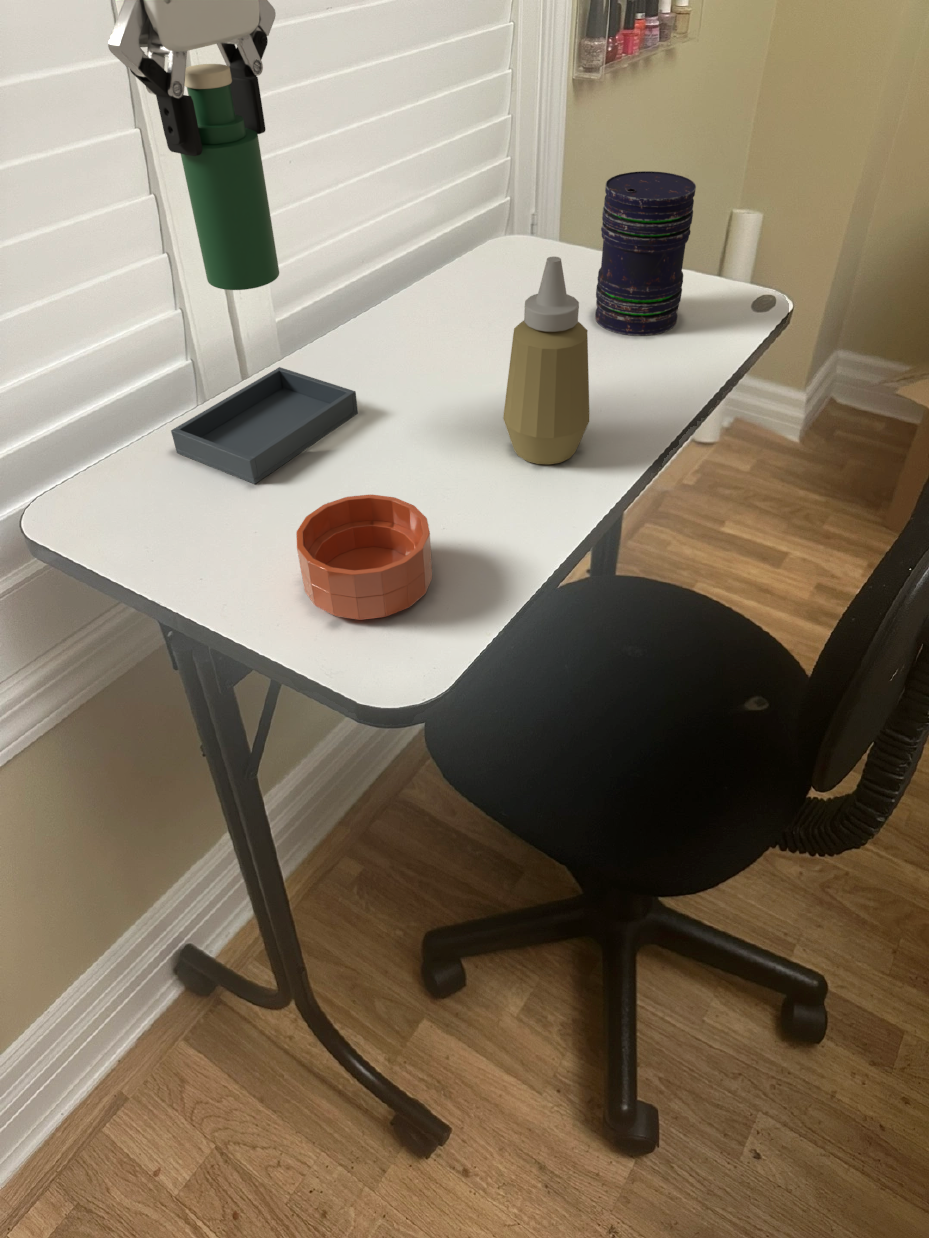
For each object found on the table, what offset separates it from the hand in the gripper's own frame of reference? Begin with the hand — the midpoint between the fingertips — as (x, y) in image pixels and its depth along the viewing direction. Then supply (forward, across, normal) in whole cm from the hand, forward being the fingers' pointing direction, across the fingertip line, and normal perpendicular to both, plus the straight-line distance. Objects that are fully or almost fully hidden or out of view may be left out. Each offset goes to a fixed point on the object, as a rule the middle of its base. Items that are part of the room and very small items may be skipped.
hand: (218, 139), depth 71 cm
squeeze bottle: (+27, -12, +24) cm, 38 cm away
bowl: (+27, +13, +22) cm, 37 cm away
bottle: (+11, 0, 0) cm, 11 cm away
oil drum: (+27, -43, +19) cm, 54 cm away
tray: (+27, 0, 0) cm, 27 cm away
